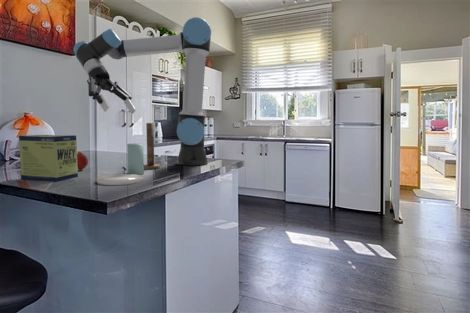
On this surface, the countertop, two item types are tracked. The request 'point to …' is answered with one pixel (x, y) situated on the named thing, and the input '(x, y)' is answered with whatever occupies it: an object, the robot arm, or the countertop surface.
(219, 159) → the countertop surface
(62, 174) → the protein box
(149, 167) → the walnut post
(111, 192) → the countertop surface
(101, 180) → the cream plate
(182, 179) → the countertop surface
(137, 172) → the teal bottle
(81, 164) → the red fruit
